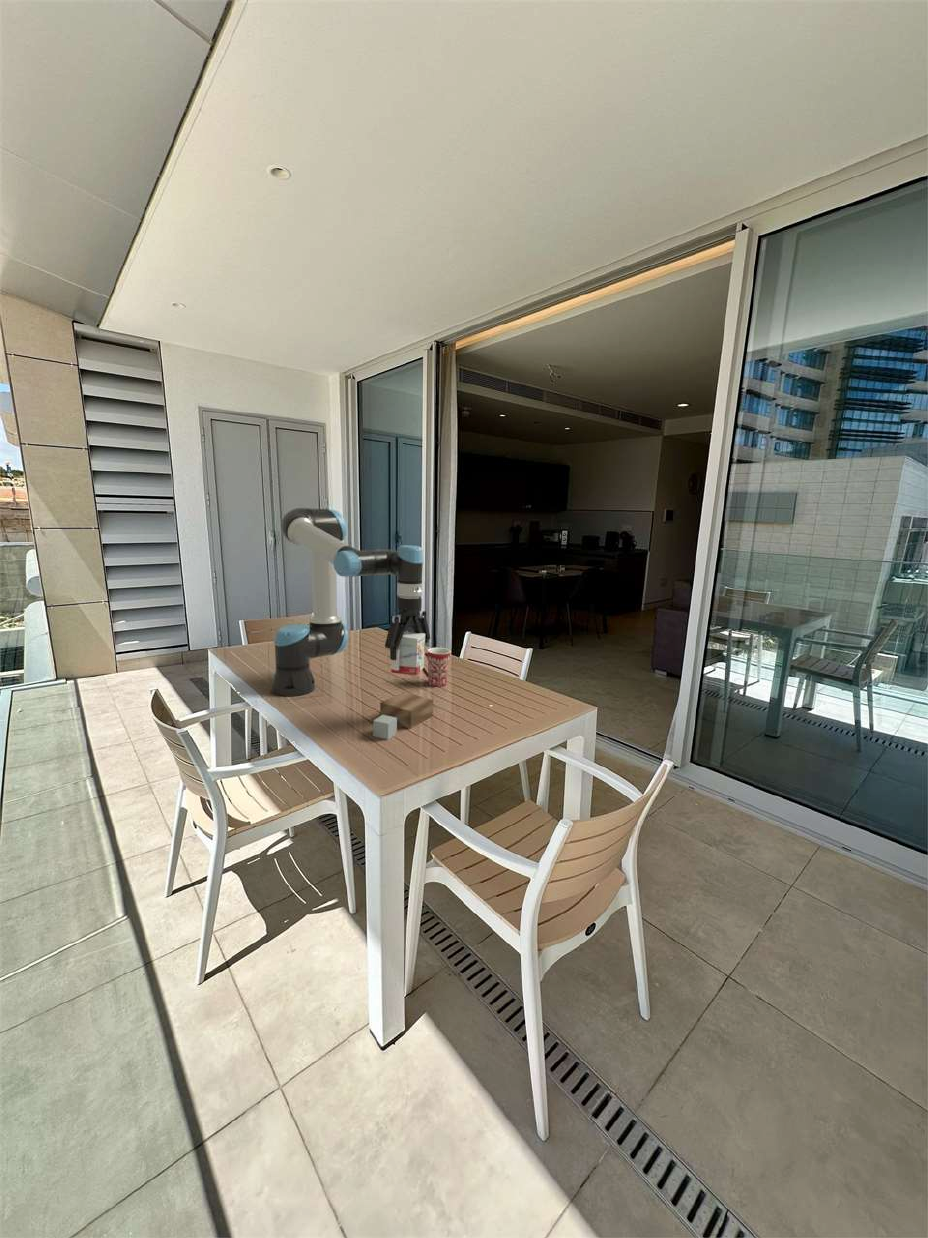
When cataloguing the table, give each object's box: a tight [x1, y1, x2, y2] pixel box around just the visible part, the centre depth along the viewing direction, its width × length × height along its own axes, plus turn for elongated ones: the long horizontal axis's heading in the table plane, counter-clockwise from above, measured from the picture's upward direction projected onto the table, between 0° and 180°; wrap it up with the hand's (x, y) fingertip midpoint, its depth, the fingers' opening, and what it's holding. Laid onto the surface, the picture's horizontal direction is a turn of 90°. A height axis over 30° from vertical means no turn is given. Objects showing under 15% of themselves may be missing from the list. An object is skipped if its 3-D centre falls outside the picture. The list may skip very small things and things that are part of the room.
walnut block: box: [379, 691, 434, 729], centre depth 160 cm, size 12×12×6 cm
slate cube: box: [372, 715, 398, 741], centre depth 147 cm, size 5×5×5 cm
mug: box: [421, 647, 451, 688], centre depth 194 cm, size 13×9×14 cm
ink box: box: [390, 630, 426, 676], centre depth 156 cm, size 9×9×12 cm
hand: (407, 665), depth 157 cm, fingers closed on ink box, 11 cm apart
